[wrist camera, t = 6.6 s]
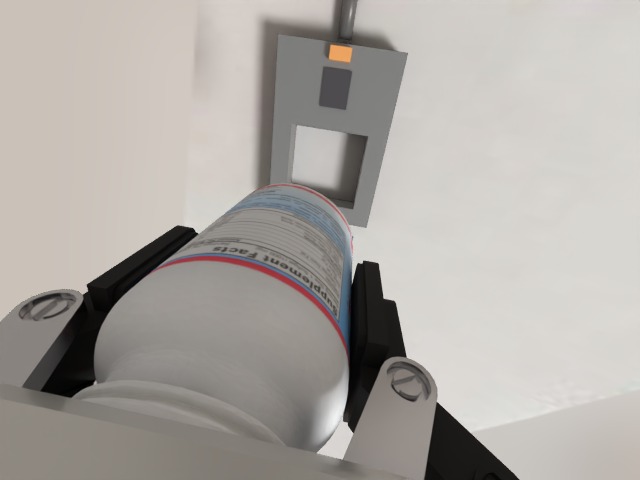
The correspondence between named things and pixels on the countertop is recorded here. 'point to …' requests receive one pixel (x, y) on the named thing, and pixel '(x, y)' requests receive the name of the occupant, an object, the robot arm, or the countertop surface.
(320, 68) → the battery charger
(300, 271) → the pill bottle
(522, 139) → the countertop surface
